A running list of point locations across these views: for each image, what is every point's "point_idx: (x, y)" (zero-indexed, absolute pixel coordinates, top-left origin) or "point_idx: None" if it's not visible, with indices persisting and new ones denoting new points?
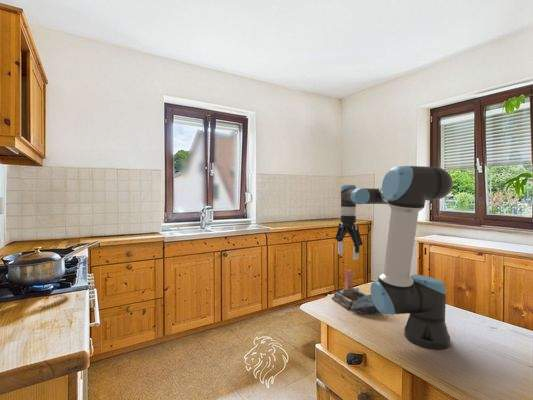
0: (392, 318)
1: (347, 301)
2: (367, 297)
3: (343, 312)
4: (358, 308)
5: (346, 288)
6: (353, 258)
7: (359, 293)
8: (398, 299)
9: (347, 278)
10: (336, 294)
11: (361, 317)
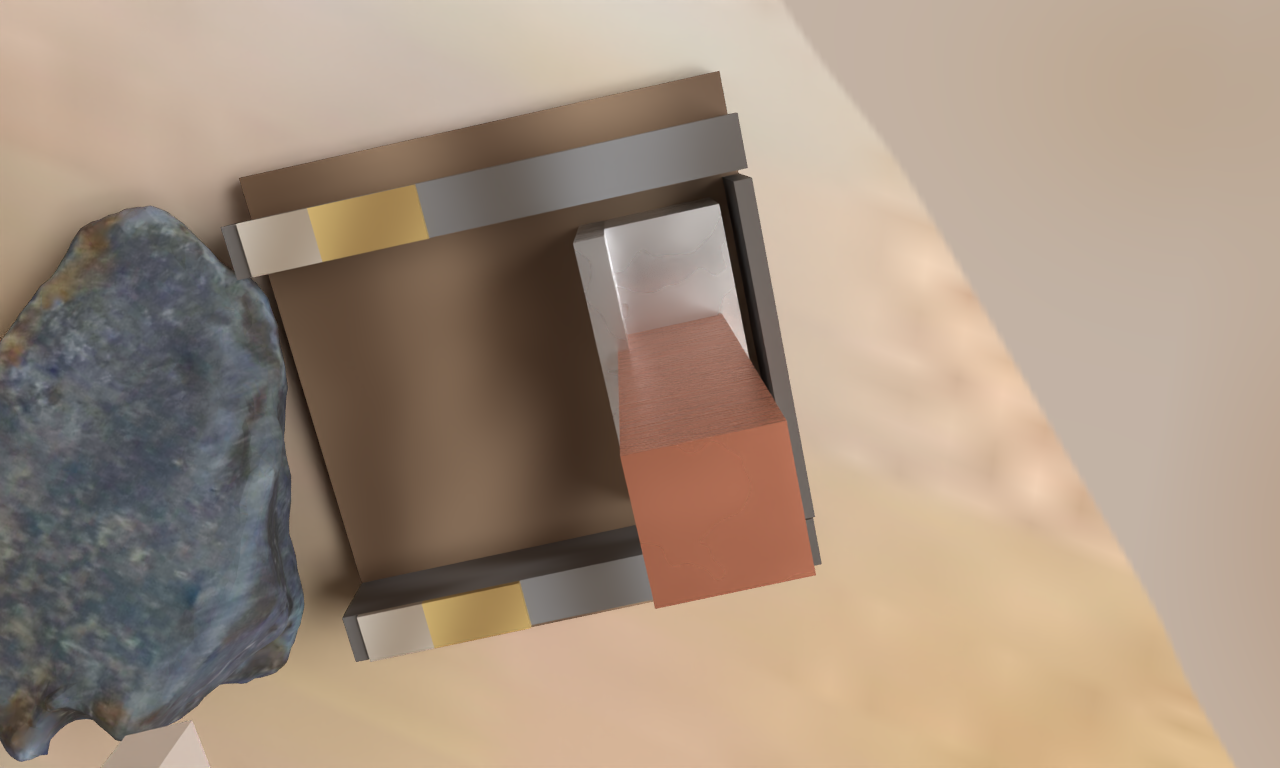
0: None
1: (305, 208)
2: (181, 530)
3: (171, 80)
4: (45, 287)
5: (668, 339)
6: (152, 743)
7: None
8: None
9: (644, 396)
10: (652, 131)
11: (9, 283)
